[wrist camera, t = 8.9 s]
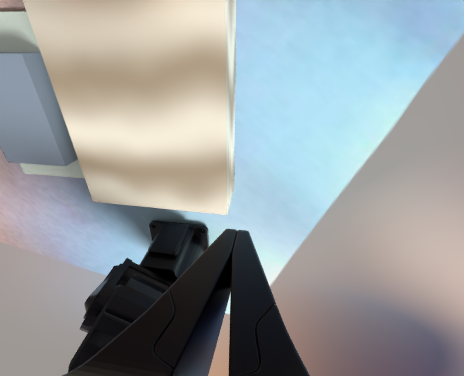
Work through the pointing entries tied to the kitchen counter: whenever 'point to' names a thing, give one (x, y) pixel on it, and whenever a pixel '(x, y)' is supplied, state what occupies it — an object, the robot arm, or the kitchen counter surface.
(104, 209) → the kitchen counter surface
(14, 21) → the mat
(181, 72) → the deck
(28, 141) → the grey-blue rectangular block
